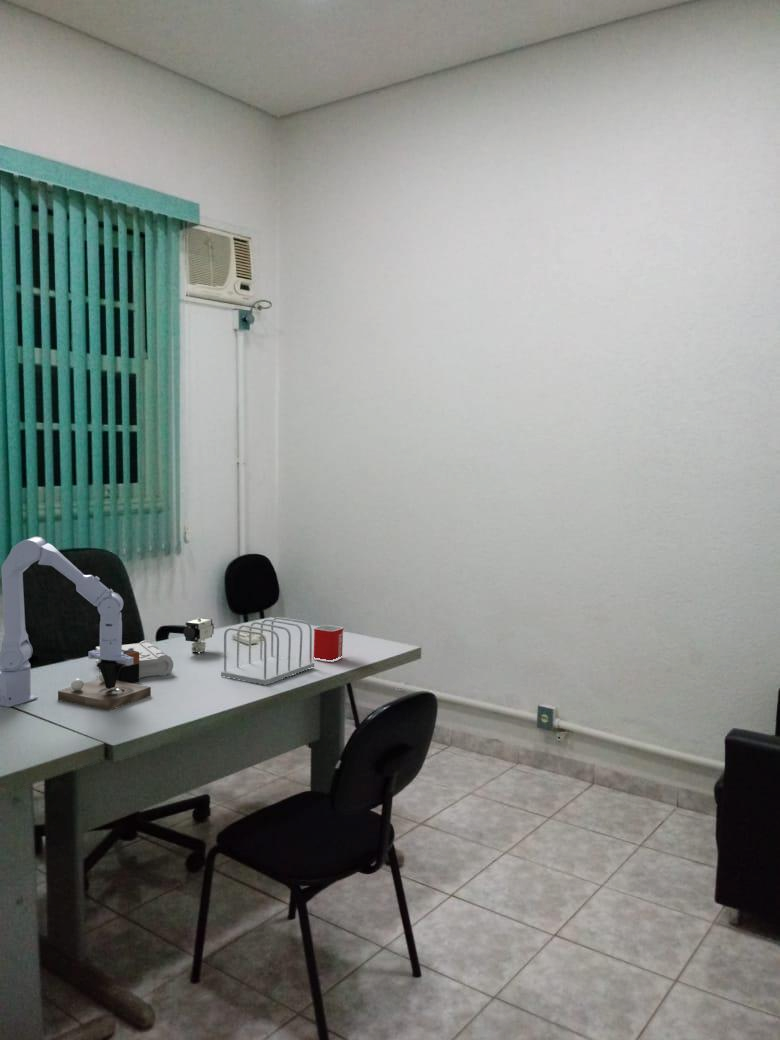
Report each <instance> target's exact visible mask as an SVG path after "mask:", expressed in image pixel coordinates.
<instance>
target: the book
mask: <svg viewBox="0 0 780 1040" xmlns="http://www.w3.org/2000/svg"><path fill="white" fill-rule="evenodd" d="M130 648H133V649H134V651H137V652H139V678H145V677H154V676H157V675H164V676H168V675H170V674H171V673H172V671H173V669H174V661H173V659H172V658H171V656H169V655H168V654H167V653H165V652H164V651H162V650H161V649H159V647H157V646H156V645H154V644H153V642H151V641H149V640H146V639H145V640H142V641H140V642H137V643H129V644H122V650H125V651H127V650H128V649H130ZM95 651H100V645H99V646H95ZM100 662H101V660H99V659H95V665H96V664H97V663H100ZM167 674H168V675H167Z"/></svg>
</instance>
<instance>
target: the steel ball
mask: <svg viewBox="0 0 780 1040" xmlns="http://www.w3.org/2000/svg"><path fill="white" fill-rule="evenodd" d="M122 692H123V691H122V690H120V689H114V690H113V691H112V693H111V694H117V693H122Z"/></svg>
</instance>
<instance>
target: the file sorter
mask: <svg viewBox="0 0 780 1040" xmlns="http://www.w3.org/2000/svg"><path fill="white" fill-rule="evenodd" d="M287 621H288V622H287ZM289 621H290V622H289ZM266 622H271V624H270V623H266ZM293 622H295V623H293ZM274 623H277V624H283V625H289V626H295V627H297V629H298V630H299V633H300V635H299V658H298V659H295V658H294V659H293V658H291V646H292V645H291V644H292V636H291V632H290V630H289V629H288V628H287V627H285V626H280V625H276V624H274ZM298 623H302V624H306V625H307V626H308V629H309V661H308V660H307V661H305V660H302V654H303V653H302V651H303V649H302V648H303V629H302V627H301V626H300V625H299V624H298ZM254 625H260V627H259V626H258V627H257V626H254ZM265 626H266V627H271V629H267V628H264V627H265ZM242 628H247V629H249V630H247V629H242ZM274 628H276V629H280V630H285V631H286V633H287V634H288V649H287V652H288V653H287V655H288V656H287V657H282V656H280V655H279V654H280V637H279V634H278V633H277V632H276V631H275V630H274ZM312 629H313V628H312V626H311V624H310V622H308V621H306V620H301V619H294V618H287V617H279V616H277V617H274V618H272V619H270V618H266V619H263V620H262V622H260V621H255V622H251V624H250V625H246V624H242V625H240V626H239V627H238V628H234V627H228V628H227V629H225V631H224V634H223V635H224V636H223V668H224V669H223V670H222V671H220V677H221V676H225V677H230V678H235V679H240V680H245V681H250V682H255V683H254V684H256V683H259V684H258V685H261V684H264V685H263V686H268V685H270V684H269V683H271V684H273V683H275V681H276V682H278V681H277V680H279V681H281V680H280V679H282V678H284V679H286V678H285V677H287V678H289V677H288V676H290V675H292V674H295V673H298V672H301V671H303V670H306V669H308V668H311V667H314V668H315V663H314V662H313V661H312V658H313V657H312V655H313V651H312V650H313V648H312V646H313V641H312V640H313V637H312V635H313V634H312V633H313V630H312ZM252 630H253V631H252ZM254 630H258V631H260V632H258V631H254ZM229 631H234V632H235V631H236V632H237V635H236V637H237V638H236V666H235V667H231V668H229V669H227V634H228V632H229ZM263 631H264V632H268V633H270V634H271V635H270V636H271V642H270V645H271V646H270V647H271V648H270V649H271V650H270V655H269V656H267V638H266V636H265V635H264V632H263ZM240 633H248V635H249V636H248V663H247V662H246V663H244V664H242V665H240ZM252 634H255V635H258V636H260V642H259V643H260V644H259V645H260V648H259V650H260V651H259V652H260V653H259V654H260V656H259V659H257V660H254V661H251V660H252V659H251V658H252V656H251V655H252ZM274 635H275V638H276V655H274ZM263 647H264V648H263ZM263 651H264V652H263ZM306 671H307V670H306ZM301 673H302V672H301ZM298 674H299V673H298ZM295 675H296V674H295ZM225 677H224V678H225ZM290 677H291V676H290ZM230 678H229V679H230ZM235 679H234V680H235ZM240 680H239V681H240ZM282 680H283V679H282ZM245 681H244V682H245ZM250 682H249V683H250ZM272 682H273V683H272ZM267 684H268V685H267Z"/></svg>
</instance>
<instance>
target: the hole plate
mask: <svg viewBox="0 0 780 1040" xmlns="http://www.w3.org/2000/svg"><path fill="white" fill-rule="evenodd" d="M83 683H84V686H83V688H82V689H81V690H79V691H75V690H73V689H72V687H71V686H70V687H67V688H63V689H61V690H57V701H60V700H62V702H65V701H66V702H65V703H69V702H70V703H71V704H75V705H78V704H79V705H80V706H83V705H84V706H83V707H88V706H89V707H88V708H92V707H93V708H92V709H98V710H101V709H102V711H106V710H107V711H108V710H109V711H112V710H115V709H117V708H120V707H122V705H123V706H126V705H128V703H129V704H132V703H134V701H135V702H137V701H140V700H143V699H146V698H148V696H149V697H151V695H152V694H151V693H152V691H151V689H152V688H151V686H147V685H142V684H138V683H127V682H122V681H116V685H115V687H114V688H111V689H108V688H106V686H105V682H102V681H100V679H99V678H97V679H94V680H90V681H87V682H83ZM114 689H120V690H122V691H123V692H122V693H117V694H111V693H112V691H113V690H114ZM131 702H132V703H131ZM70 703H69V704H70ZM116 707H117V708H116ZM114 708H115V709H114ZM111 709H112V710H111ZM109 711H108V712H109Z"/></svg>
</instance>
